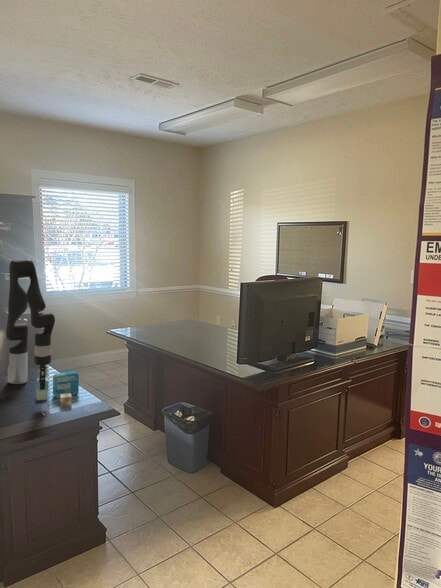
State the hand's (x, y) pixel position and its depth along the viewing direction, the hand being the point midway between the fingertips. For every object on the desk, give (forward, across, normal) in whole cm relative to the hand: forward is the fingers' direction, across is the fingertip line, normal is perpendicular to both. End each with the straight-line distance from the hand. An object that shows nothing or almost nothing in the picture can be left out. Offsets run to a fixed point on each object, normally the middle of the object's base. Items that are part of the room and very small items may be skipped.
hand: (42, 387), depth 208 cm
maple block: (+10, +1, +11) cm, 15 cm away
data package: (+10, -12, +11) cm, 19 cm away
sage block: (+10, -11, 0) cm, 15 cm away
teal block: (+1, 0, 0) cm, 1 cm away
